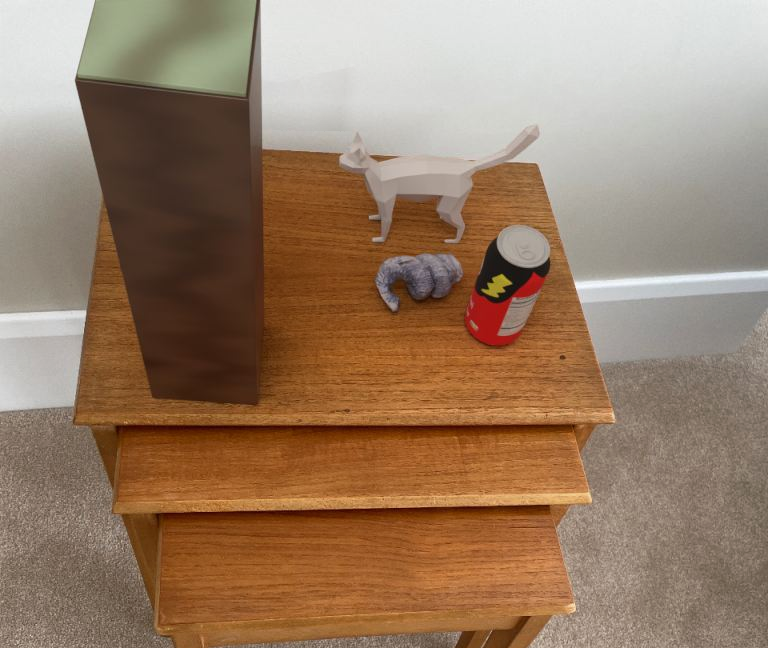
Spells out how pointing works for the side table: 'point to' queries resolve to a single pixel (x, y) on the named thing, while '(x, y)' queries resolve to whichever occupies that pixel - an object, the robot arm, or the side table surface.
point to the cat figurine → (425, 179)
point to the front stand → (183, 184)
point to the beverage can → (508, 285)
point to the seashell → (418, 276)
